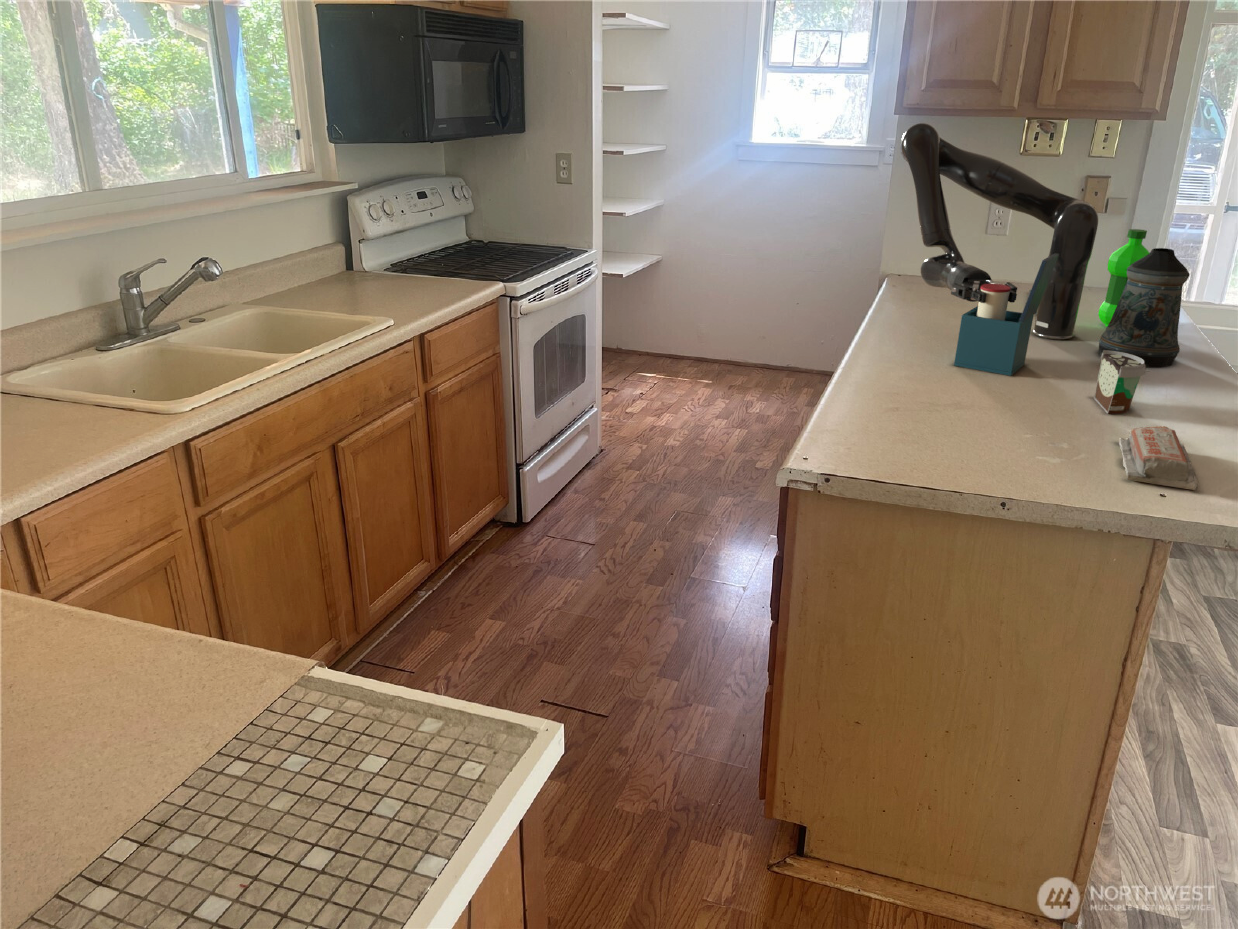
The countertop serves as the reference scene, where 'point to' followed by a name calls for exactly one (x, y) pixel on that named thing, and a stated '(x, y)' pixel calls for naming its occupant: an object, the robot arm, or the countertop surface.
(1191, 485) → the packaged product
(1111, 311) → the plastic bottle
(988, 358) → the cool box
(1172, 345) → the beer stein
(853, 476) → the countertop surface
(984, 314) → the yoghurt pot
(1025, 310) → the cool box lid
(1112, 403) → the food container
